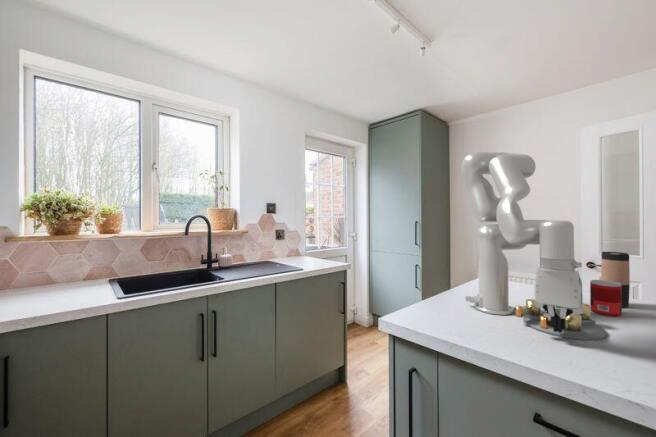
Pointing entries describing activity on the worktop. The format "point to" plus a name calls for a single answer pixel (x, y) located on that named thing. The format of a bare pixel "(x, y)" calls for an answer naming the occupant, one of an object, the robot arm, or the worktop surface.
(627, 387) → the worktop surface
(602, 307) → the canned food
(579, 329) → the knob
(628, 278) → the travel mug
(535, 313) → the knob
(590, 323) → the tribrach
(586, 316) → the knob
